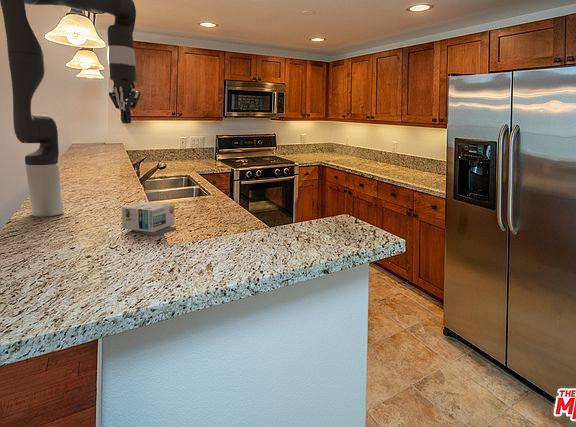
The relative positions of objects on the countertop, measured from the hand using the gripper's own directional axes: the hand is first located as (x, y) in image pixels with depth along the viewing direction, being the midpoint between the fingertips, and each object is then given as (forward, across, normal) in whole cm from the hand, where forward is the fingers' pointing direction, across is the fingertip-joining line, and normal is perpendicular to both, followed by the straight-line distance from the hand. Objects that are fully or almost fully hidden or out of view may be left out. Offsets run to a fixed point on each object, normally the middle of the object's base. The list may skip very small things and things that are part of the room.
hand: (126, 123), depth 114 cm
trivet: (+31, +16, -4) cm, 35 cm away
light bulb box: (+27, +9, -6) cm, 29 cm away
